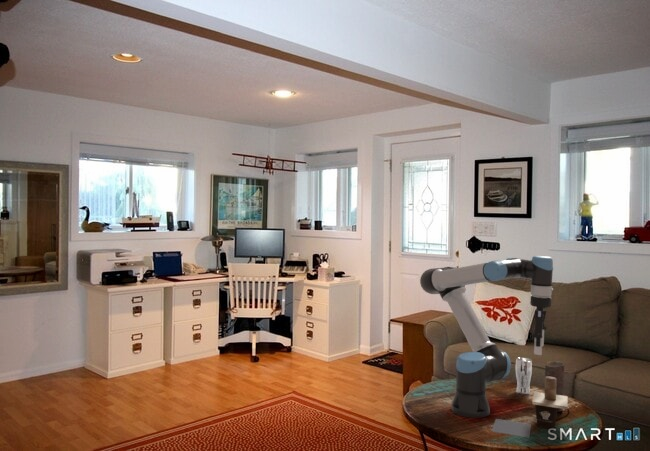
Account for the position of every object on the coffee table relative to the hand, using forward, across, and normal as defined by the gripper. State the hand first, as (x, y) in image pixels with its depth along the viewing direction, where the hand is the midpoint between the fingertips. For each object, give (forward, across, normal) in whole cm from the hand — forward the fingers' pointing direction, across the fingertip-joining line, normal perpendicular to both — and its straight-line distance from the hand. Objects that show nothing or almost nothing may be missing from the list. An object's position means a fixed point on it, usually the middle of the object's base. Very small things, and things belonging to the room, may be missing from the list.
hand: (538, 350), depth 206 cm
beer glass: (+29, +33, +7) cm, 44 cm away
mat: (+28, -12, +8) cm, 32 cm away
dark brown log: (+29, +15, -6) cm, 33 cm away
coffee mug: (+28, -4, -5) cm, 29 cm away
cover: (+18, -4, -5) cm, 19 cm away
